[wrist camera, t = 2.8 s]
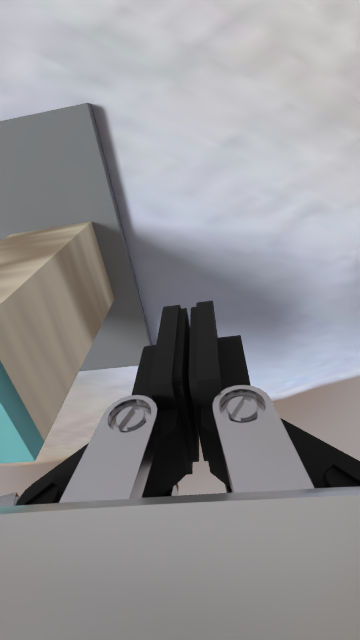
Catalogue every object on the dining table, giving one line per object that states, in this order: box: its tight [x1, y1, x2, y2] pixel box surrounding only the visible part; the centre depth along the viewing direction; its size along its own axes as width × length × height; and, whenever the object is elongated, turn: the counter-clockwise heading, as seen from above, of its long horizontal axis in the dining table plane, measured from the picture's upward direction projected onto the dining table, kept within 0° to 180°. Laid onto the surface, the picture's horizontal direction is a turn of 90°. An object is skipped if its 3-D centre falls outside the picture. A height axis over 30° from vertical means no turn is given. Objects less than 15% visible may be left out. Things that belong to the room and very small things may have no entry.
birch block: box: [0, 222, 114, 463], centre depth 16 cm, size 5×5×12 cm
